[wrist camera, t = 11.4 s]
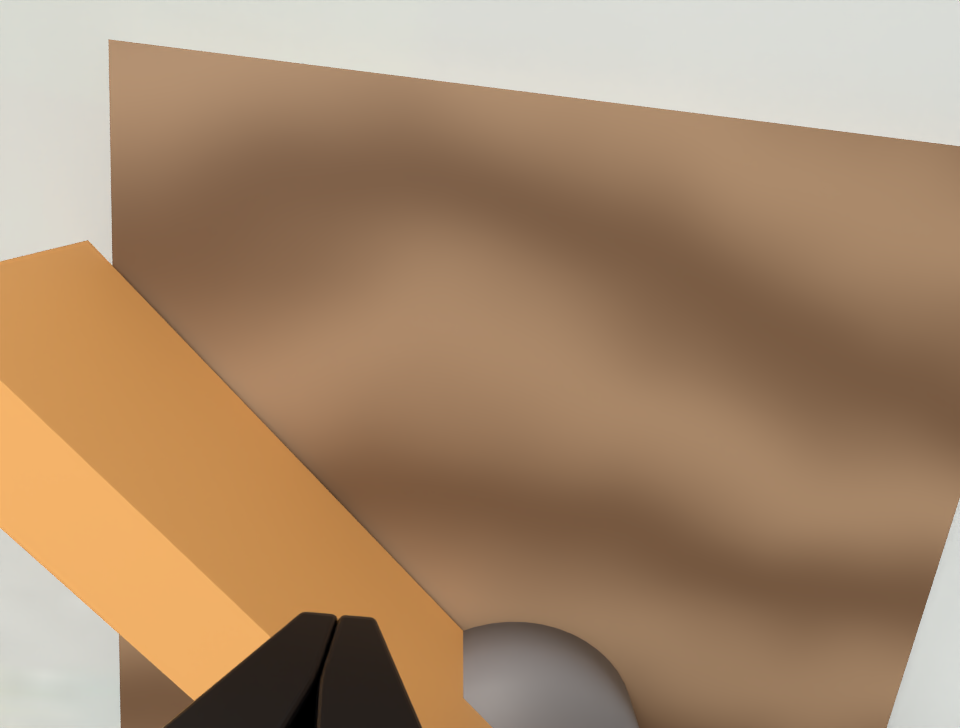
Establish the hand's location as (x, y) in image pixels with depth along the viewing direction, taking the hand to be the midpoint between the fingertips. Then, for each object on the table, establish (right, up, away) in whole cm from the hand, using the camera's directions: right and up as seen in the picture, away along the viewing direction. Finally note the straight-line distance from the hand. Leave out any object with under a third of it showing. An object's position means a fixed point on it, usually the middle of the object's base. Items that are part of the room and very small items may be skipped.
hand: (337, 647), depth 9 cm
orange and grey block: (-2, -2, +11) cm, 12 cm away
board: (+3, -1, +13) cm, 13 cm away
